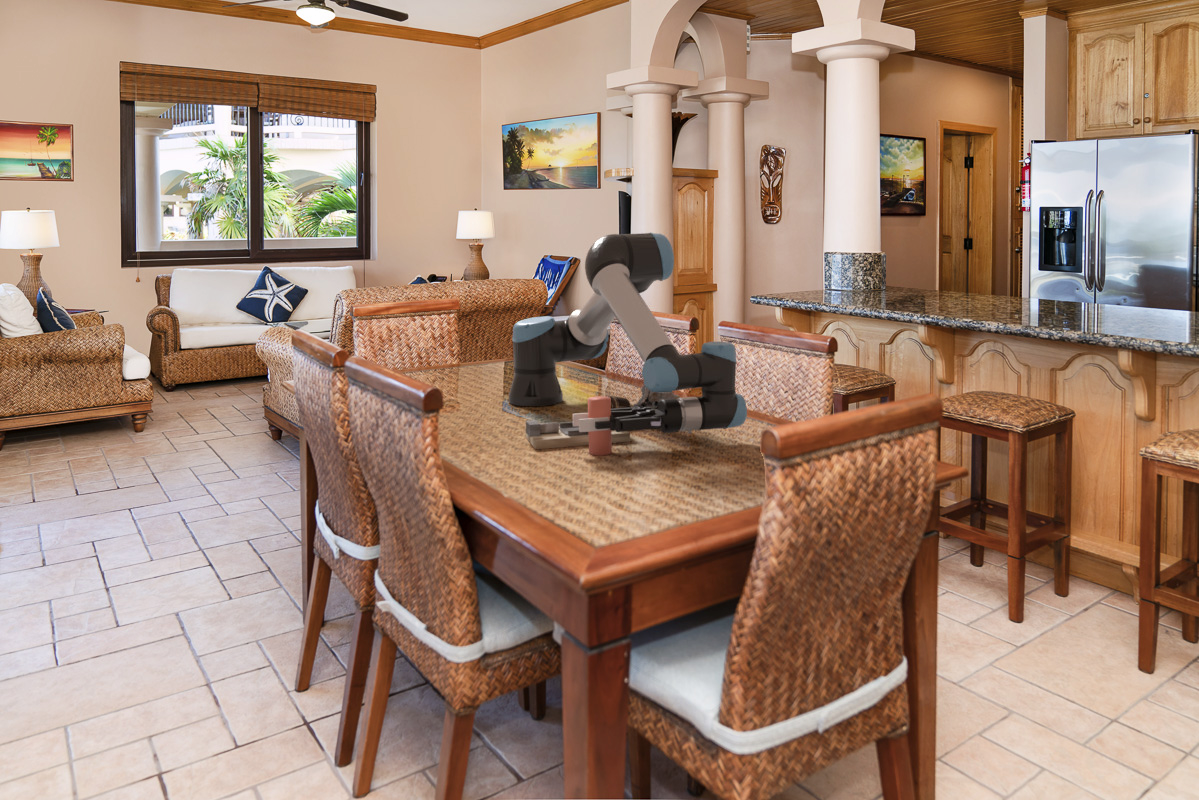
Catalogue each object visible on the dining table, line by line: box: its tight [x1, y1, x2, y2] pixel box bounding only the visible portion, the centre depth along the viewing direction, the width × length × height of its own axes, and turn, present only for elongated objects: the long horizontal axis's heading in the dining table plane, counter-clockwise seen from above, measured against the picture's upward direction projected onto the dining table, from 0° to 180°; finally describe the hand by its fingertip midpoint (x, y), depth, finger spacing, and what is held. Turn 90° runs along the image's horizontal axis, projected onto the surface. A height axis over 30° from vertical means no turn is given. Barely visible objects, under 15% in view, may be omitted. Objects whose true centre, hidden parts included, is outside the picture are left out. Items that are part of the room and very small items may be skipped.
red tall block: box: [587, 395, 613, 456], centre depth 195 cm, size 5×5×12 cm
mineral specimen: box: [630, 383, 681, 409], centre depth 234 cm, size 11×9×12 cm
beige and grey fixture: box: [524, 419, 631, 450], centre depth 208 cm, size 12×23×5 cm, turn 106°
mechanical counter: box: [607, 395, 631, 409], centre depth 225 cm, size 7×13×10 cm
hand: (576, 422), depth 194 cm, fingers closed on red tall block, 5 cm apart
